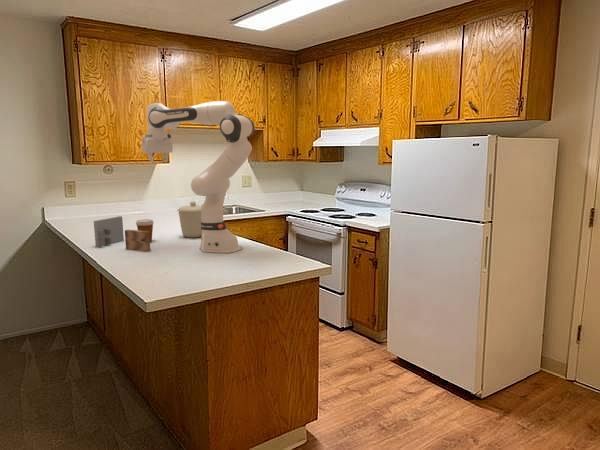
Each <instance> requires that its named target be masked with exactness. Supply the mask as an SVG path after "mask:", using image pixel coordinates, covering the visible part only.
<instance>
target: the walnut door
mask: <svg viewBox="0 0 600 450" xmlns="http://www.w3.org/2000/svg"><path fill="white" fill-rule="evenodd" d="M124 241H125V249H126V250H130V251H137V252H138V251H139V252H150V251H151V242H150V234H149V231H138V229H137V230H136V229H125V230H124Z"/></svg>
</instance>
